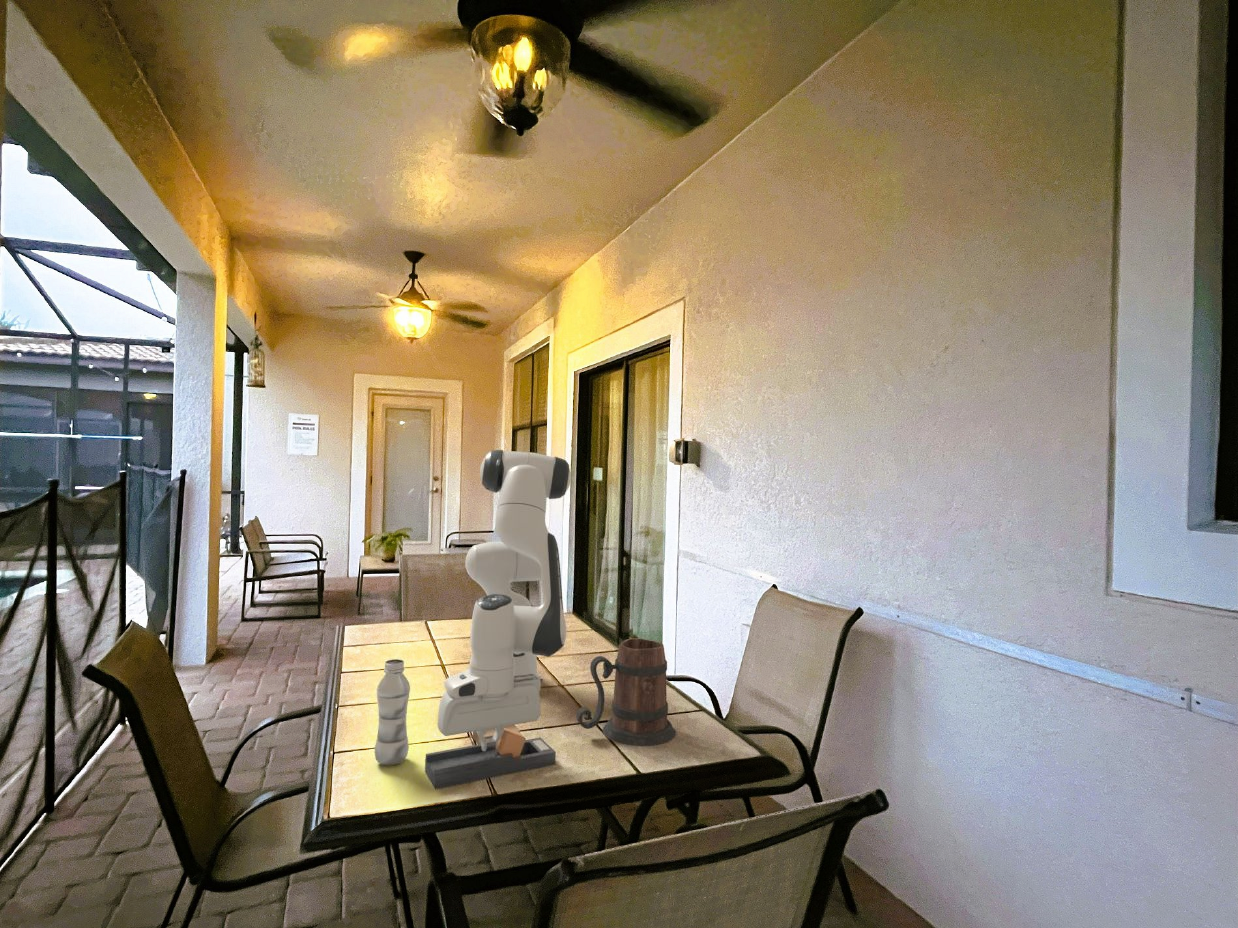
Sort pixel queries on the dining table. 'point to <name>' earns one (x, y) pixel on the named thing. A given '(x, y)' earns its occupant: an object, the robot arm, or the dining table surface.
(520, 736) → the peach foam cube
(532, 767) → the grey slotted tray
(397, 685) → the plastic bottle
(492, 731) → the brown square plate
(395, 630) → the dining table surface
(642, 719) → the tankard
